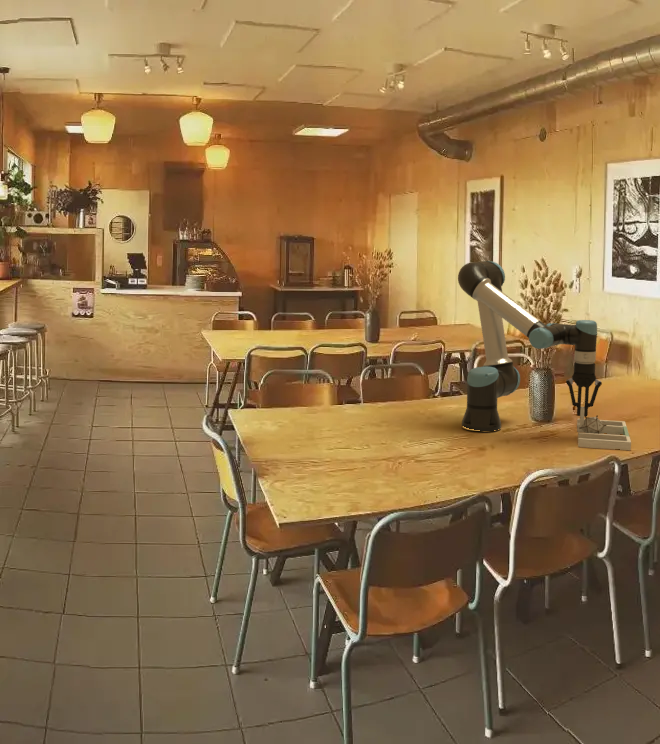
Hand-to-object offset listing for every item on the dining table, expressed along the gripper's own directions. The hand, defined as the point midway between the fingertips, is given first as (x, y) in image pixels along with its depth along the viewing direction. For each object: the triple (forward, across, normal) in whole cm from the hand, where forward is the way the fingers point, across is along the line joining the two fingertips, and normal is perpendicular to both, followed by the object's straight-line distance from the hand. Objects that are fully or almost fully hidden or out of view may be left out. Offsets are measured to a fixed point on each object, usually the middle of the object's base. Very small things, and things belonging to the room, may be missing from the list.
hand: (581, 424), depth 306 cm
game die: (+5, +4, 0) cm, 6 cm away
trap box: (+5, +7, 0) cm, 8 cm away
